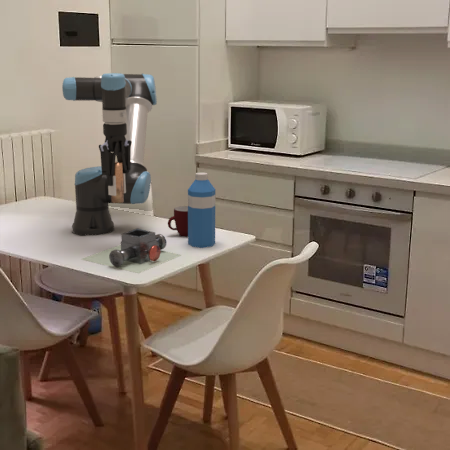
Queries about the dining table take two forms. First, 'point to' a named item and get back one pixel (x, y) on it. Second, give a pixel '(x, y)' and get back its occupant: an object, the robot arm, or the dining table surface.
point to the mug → (180, 220)
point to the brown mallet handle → (118, 183)
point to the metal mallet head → (138, 247)
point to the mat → (128, 266)
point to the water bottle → (201, 212)
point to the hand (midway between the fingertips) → (117, 193)
